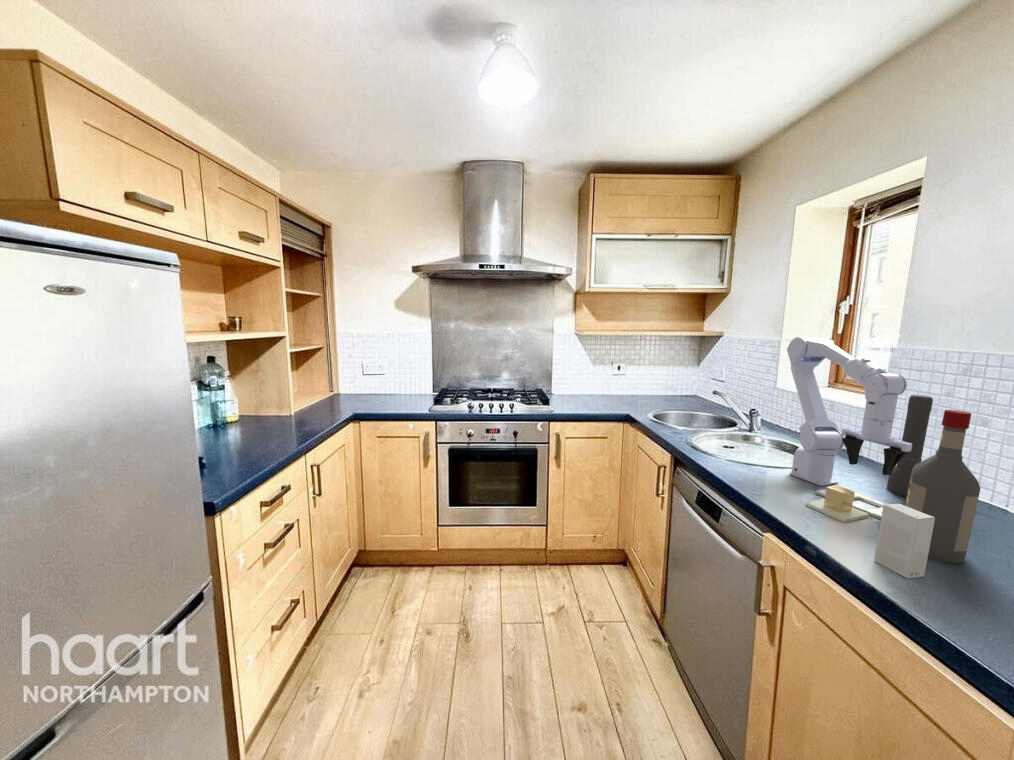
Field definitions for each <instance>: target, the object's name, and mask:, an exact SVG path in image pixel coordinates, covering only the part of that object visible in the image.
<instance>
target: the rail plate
mask: <svg viewBox="0 0 1014 760" xmlns="http://www.w3.org/2000/svg"><path fill="white" fill-rule="evenodd" d="M825 494H826V488H824V489H819V490H818V489H817V490H815V495H818V496H820V497H823V498H825ZM858 500H859V501H861V502H864V503H868V504H870V505H872V506H876V508H872V509H871V508H868V507H866V506H863V505H861V504H858V503H855V502H853V505H852V508H855V509H857V510H860V511H863V512H865V513H868V514H869V516H871V517H873V518H876V519H878V520H881V517H882V511H883V505H888V503H886V502H885V503H884V502H883V501H880V500H876V499H874V498H872V497H868V496H866V495H863V494H861V493H859V492H855V493H854V499H853V501H858Z"/></svg>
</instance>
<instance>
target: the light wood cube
mask: <svg viewBox="0 0 1014 760" xmlns="http://www.w3.org/2000/svg"><path fill="white" fill-rule="evenodd" d="M825 489H826V494H825V497H824V499H825V500H824V499H823V500H824V506H826V507H828V508H831V509H833V510H836V511H838V512H840V513H842V512H847V511H852V505H853V503H854V500H853V499H854V493H856V491H854V490H851V489H848V488H846V487H844V486H840V485H831V486H826V488H825Z"/></svg>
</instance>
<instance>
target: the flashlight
mask: <svg viewBox="0 0 1014 760" xmlns="http://www.w3.org/2000/svg"><path fill="white" fill-rule="evenodd" d="M933 402H934V399H933V397H932V396H927V395H924V394H923V395H921V394H911V395H910V396H909V397H908V403H907V407H906V409H907V411H906V417H905V421H904V427H903V433H902V436H901V437H902V438H901V441H904V442H907V443H911V444H912V449H911V451H909V452H908V453H907V454H906V455H905V456H903V457H902V458H901V459H900V461H899V462H898V463H897V464H896V466H895V467H894V469H893V471H892V473H891V475H888V479H887V483H886V490H887V491H888V492H890V493H893V494H896V495H899V496H904V497H907V493H908V488H909V483H910V477H911V472H912V469H913V467H914V466H915V465H916V464H918V463H920V462H922V461H923V460H922V457H923V452H924V446H925V441H926V436H927V431H928V425H929V421H930V415H931V412H932V407H933V404H934V403H933Z"/></svg>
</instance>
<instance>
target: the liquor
mask: <svg viewBox="0 0 1014 760" xmlns="http://www.w3.org/2000/svg"><path fill="white" fill-rule="evenodd" d="M971 418H972V413H971V412H969V411H968V412H967V411H964V410H954V409H944V411H943V415H942V422H941V425H942V432H941V435H940V439H939V440H940V441H939V444H938V449H937V450H935V454H934V455H932V456H930V457H928V458H925V459H924V460H921V462H920V463H918V464H916V465H915V466H914V467H913V469H912V472H911V477H910V483H909V488H908V493H907V496H906V499H905V504H904V506H907V507H909V508H912V509H914V510H917V511H920V512H922V513H925V514H927V515H930V516H933V517H935V521H934V526H933V532H932V537H931V542H930V548H929V553H928V558H929V559H933V560H936V561H940V562H943V563H946V564H961V563H963V562H964V561H965V560H966V556H967V552H968V546H969V542H970V539H971V538H970V537H971V532H972V530H973V525H974V520H975V519H974V518H975V515H976V511H977V506H978V501H979V498H980V492H981V486H980V482H979V481H978V479H977V478H976V476H975V475H974V474H973V472H972V471H971V470H970V468H968V466H967V465H966V464H965V462H964V461H963V459H964V457H963V449H964V443H965V438H966V432H967V430H968V429H969V428H970V423H971Z"/></svg>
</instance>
